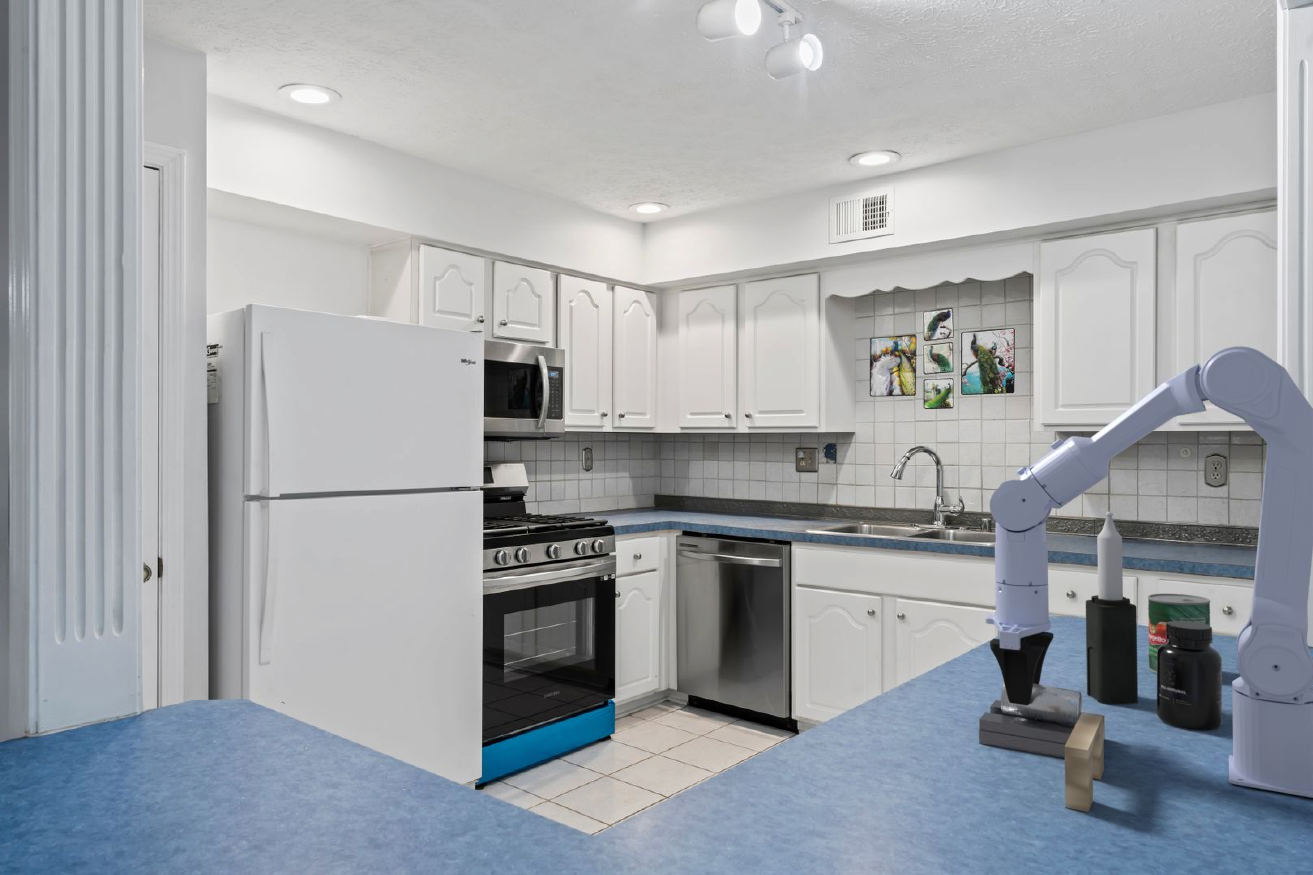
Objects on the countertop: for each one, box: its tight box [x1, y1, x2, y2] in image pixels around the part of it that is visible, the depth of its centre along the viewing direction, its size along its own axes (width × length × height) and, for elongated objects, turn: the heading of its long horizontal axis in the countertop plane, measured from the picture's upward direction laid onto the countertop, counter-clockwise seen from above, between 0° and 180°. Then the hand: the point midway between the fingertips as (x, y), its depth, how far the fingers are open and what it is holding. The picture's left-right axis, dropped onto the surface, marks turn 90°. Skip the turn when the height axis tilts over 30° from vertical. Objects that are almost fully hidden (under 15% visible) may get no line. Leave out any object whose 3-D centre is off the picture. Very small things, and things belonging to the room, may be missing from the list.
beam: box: [1064, 711, 1105, 813], centre depth 87 cm, size 2×12×6 cm, turn 147°
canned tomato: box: [1147, 593, 1211, 675], centre depth 128 cm, size 8×8×11 cm
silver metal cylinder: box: [1000, 682, 1083, 726], centre depth 100 cm, size 8×4×4 cm, turn 57°
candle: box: [1085, 511, 1139, 705], centre depth 116 cm, size 5×5×25 cm
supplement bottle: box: [1156, 621, 1223, 732], centre depth 106 cm, size 7×7×12 cm
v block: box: [978, 699, 1106, 759], centre depth 100 cm, size 12×9×3 cm
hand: (1023, 698), depth 101 cm, fingers closed on silver metal cylinder, 4 cm apart
